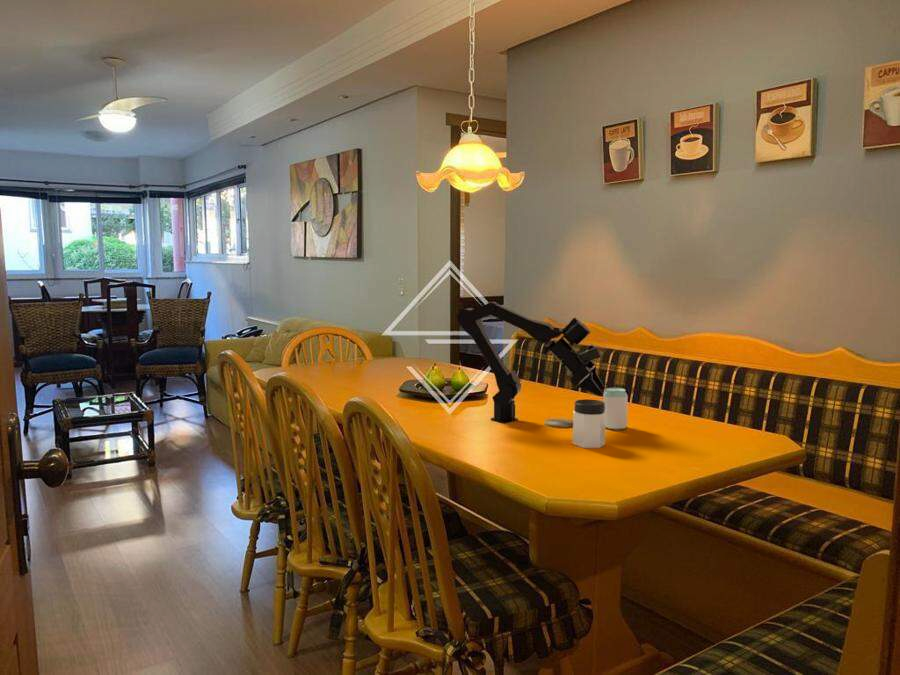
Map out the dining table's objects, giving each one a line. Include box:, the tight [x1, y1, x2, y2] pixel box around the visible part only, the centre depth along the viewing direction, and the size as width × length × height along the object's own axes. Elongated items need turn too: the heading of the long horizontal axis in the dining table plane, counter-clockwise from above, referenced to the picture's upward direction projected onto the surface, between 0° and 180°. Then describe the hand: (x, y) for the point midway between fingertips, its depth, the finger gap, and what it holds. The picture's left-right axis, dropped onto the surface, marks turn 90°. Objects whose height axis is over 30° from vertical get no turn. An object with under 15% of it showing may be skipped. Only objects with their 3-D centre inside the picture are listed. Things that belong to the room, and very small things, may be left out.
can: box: [603, 387, 629, 431], centre depth 206 cm, size 7×7×12 cm
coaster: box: [544, 417, 573, 429], centre depth 212 cm, size 10×10×1 cm
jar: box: [572, 398, 606, 449], centre depth 188 cm, size 9×8×12 cm
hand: (602, 392), depth 207 cm, fingers open, 9 cm apart
